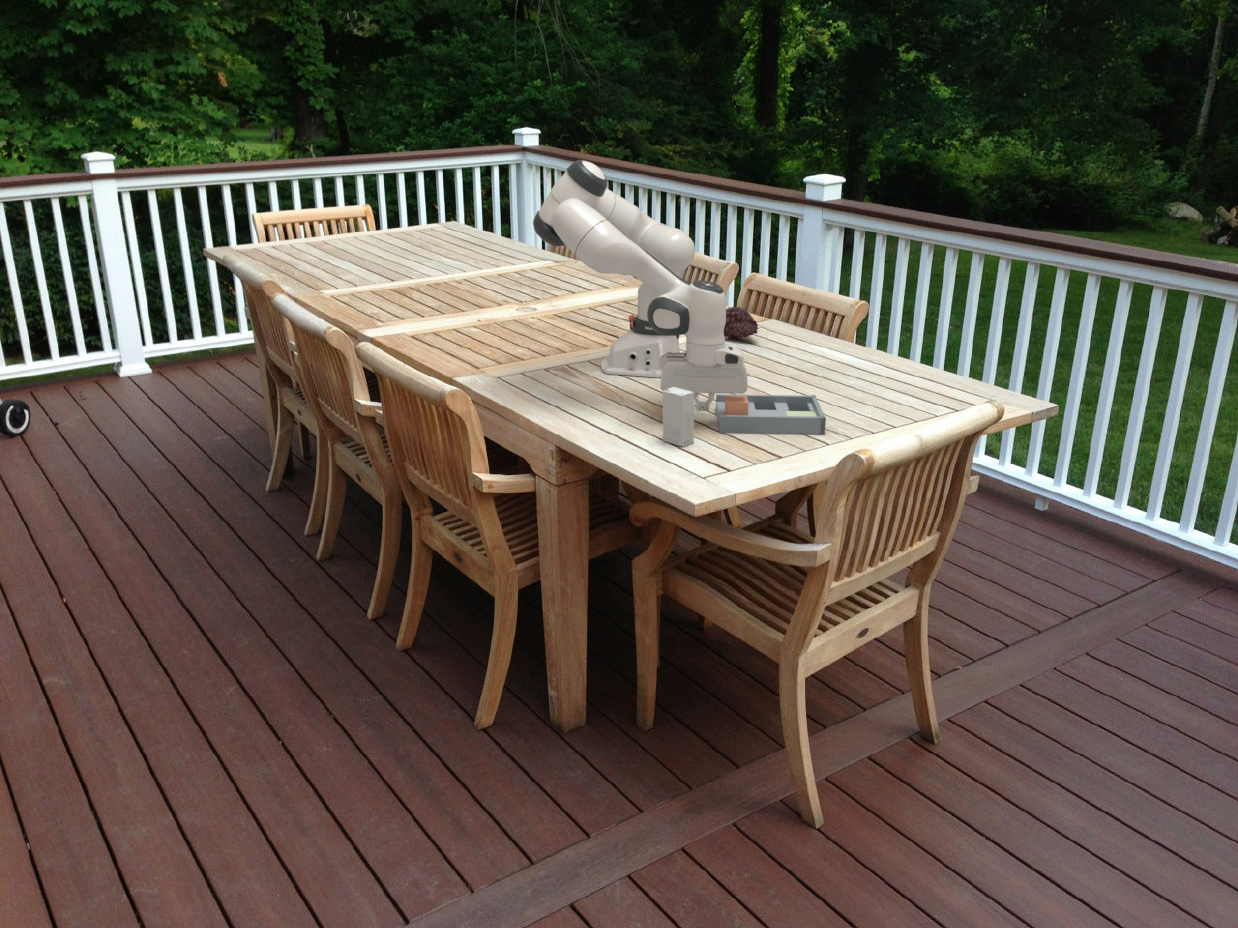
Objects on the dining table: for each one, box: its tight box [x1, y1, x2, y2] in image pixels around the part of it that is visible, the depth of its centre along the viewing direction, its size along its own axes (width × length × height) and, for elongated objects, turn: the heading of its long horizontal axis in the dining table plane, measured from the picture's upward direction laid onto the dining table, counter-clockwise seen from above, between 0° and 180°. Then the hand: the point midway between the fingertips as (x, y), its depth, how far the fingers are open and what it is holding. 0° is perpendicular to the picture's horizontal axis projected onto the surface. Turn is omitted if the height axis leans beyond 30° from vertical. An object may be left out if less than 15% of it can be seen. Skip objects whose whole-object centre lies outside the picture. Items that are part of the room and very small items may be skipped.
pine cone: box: [724, 306, 759, 340], centre depth 326 cm, size 18×10×10 cm, turn 32°
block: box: [725, 396, 749, 415], centre depth 255 cm, size 5×5×4 cm
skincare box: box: [661, 387, 695, 447], centre depth 243 cm, size 6×4×12 cm
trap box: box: [715, 393, 827, 435], centre depth 258 cm, size 24×17×4 cm
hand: (702, 410), depth 255 cm, fingers closed
